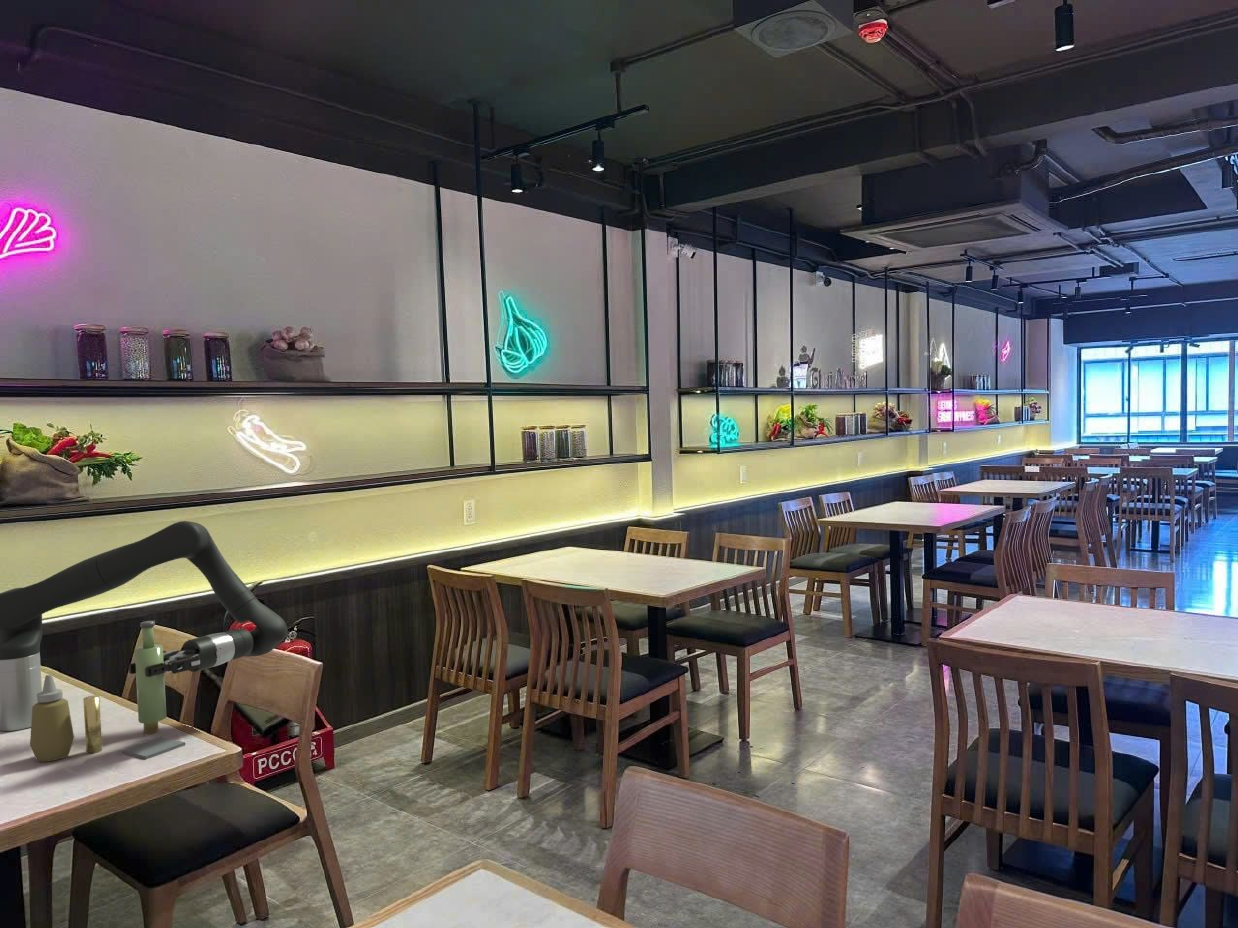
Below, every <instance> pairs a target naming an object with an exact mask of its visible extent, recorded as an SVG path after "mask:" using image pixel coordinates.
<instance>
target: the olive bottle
mask: <svg viewBox="0 0 1238 928" xmlns="http://www.w3.org/2000/svg"><path fill="white" fill-rule="evenodd" d="M139 624H140V625H139V626H140V628H141V631H142V633H141V634H142V645H141V646H137V647H135V648H134V659H135V662H134V663H135V664H136V673H135V679H136V680H135V682H136V698H137V716H138V723H140V724H144V723H153V722H158V723H159V722H160V721H164V720H165V719H166V718H167V705H166V703H167V701H166V683H165V682H166V681H165V673H162V674H158V675H155V676H151V677H146V676H145V668H146V667H147V666H151V665H155V664H159V663H163V664H164V660H163V651H164V646H163V644H155V629H154V627H155V626H156V621H155V620H146V621H145V620H144V621H142V622H140V623H139Z"/></svg>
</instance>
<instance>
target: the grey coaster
mask: <svg viewBox="0 0 1238 928" xmlns="http://www.w3.org/2000/svg"><path fill="white" fill-rule="evenodd" d="M183 746H186V742H185V741H181V740H178V739H177V740H176V739H172V738H170V737H169V738H168V737H165V736H157V737H155V738H152V739H149V740H146V741H143V742H141V743H138V744H135V745H131V746H129V747H127V748H123V749H121V750H120V752H121V754H123V755H129V756H133V757H135V758H139V759H140V758H141V759H143V760H148V759H150V758H153V757H156V756H158V755H161V754H164V753H167V752H171V751H172V750H175V749H178V748H180V747H183Z"/></svg>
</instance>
